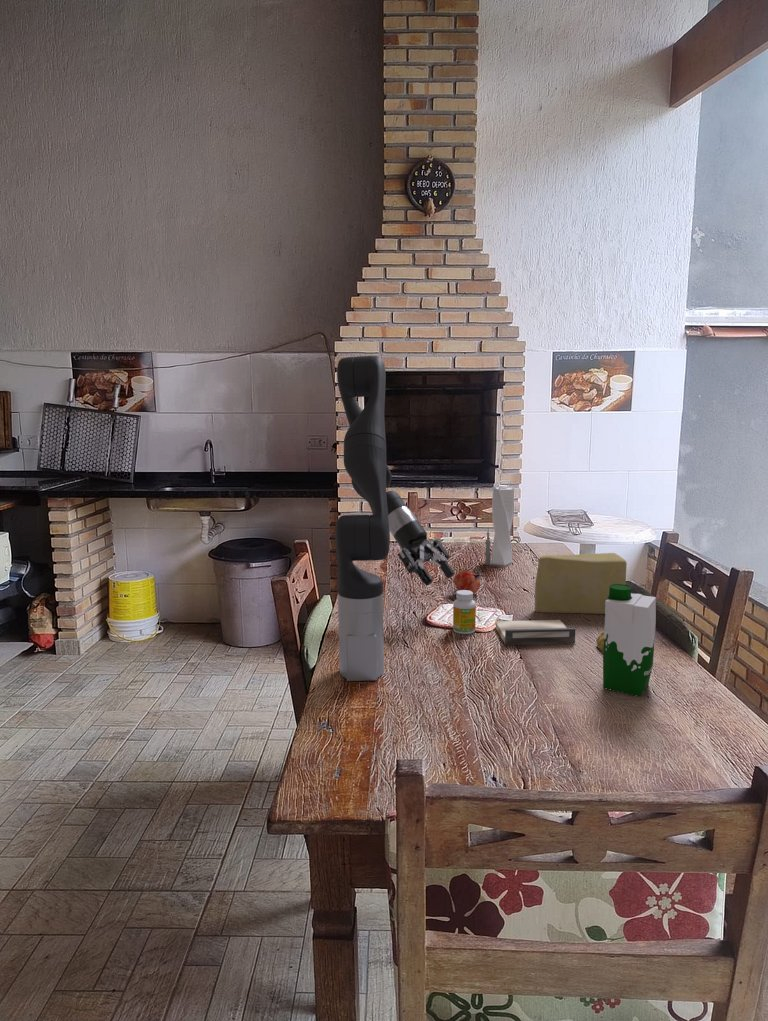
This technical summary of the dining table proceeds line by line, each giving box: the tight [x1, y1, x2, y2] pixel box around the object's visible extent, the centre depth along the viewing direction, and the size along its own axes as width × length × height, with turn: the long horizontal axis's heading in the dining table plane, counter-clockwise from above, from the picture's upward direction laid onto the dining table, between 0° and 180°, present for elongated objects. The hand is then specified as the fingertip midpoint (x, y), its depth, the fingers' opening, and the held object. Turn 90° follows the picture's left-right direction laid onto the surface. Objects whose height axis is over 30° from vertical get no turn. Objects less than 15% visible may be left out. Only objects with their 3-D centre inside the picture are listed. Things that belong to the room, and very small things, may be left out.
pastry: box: [596, 632, 604, 652], centre depth 153 cm, size 9×7×4 cm
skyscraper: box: [483, 479, 515, 568], centre depth 228 cm, size 8×8×28 cm
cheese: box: [534, 552, 628, 615], centre depth 180 cm, size 22×10×15 cm, turn 91°
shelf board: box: [494, 619, 577, 646], centre depth 164 cm, size 12×16×4 cm
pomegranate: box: [453, 569, 482, 595], centre depth 196 cm, size 7×7×10 cm
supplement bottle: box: [452, 590, 477, 635], centre depth 167 cm, size 5×5×10 cm
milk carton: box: [602, 584, 657, 697], centre depth 134 cm, size 9×9×20 cm
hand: (440, 579), depth 170 cm, fingers open, 8 cm apart
